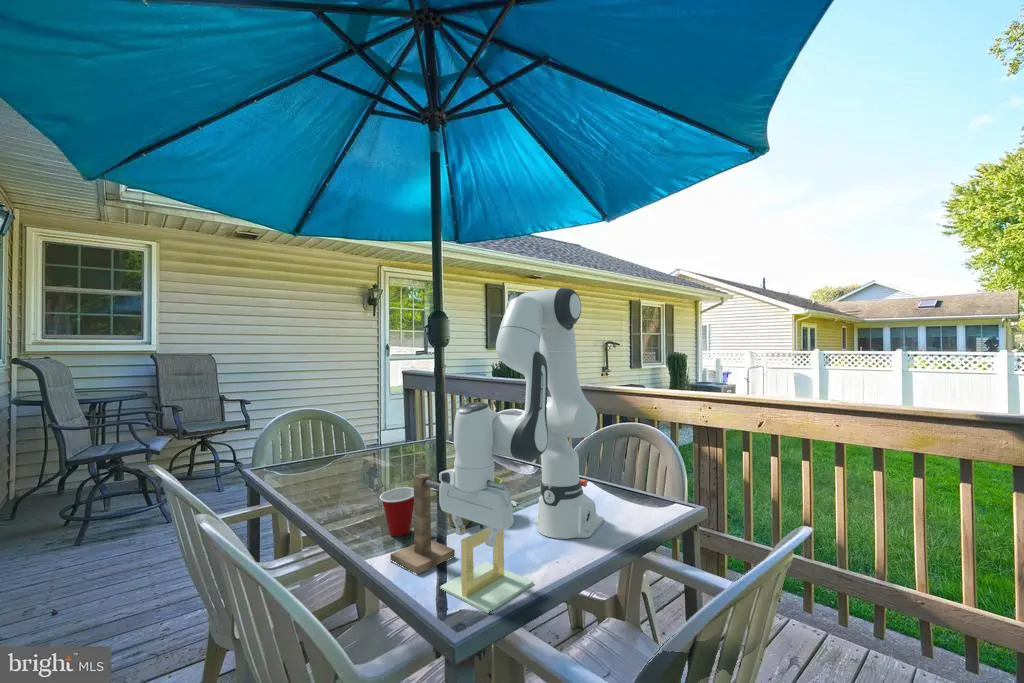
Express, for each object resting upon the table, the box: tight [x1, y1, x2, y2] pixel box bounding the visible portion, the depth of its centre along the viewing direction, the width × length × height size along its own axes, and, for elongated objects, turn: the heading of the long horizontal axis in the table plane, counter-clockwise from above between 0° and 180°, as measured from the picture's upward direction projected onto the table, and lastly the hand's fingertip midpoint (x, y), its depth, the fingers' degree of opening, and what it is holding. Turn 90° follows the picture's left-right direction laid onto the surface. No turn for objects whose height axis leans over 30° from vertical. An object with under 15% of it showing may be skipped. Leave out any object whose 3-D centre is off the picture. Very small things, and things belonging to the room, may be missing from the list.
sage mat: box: [439, 561, 534, 614], centre depth 102 cm, size 15×15×1 cm
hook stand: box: [390, 473, 456, 575], centre depth 112 cm, size 12×20×22 cm, turn 49°
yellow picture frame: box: [460, 526, 505, 598], centre depth 101 cm, size 12×2×12 cm, turn 139°
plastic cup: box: [379, 486, 414, 537], centre depth 132 cm, size 11×11×12 cm
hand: (475, 539), depth 99 cm, fingers open, 8 cm apart
